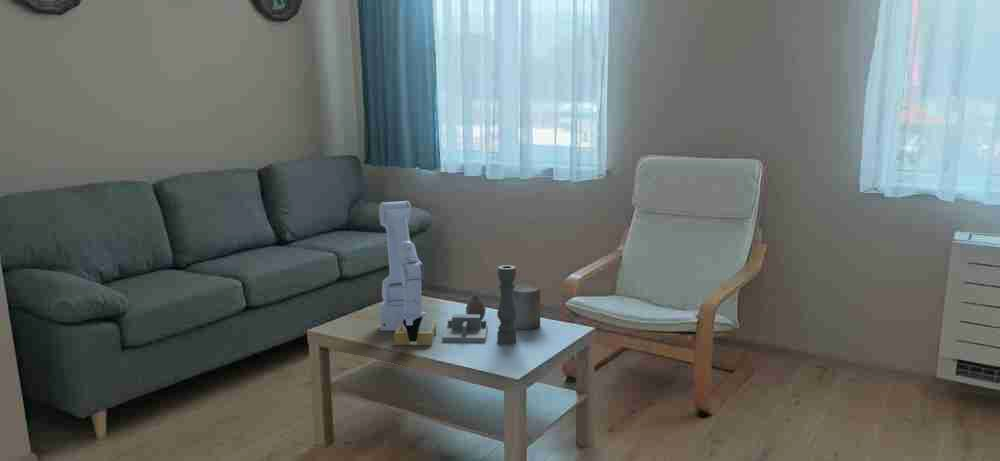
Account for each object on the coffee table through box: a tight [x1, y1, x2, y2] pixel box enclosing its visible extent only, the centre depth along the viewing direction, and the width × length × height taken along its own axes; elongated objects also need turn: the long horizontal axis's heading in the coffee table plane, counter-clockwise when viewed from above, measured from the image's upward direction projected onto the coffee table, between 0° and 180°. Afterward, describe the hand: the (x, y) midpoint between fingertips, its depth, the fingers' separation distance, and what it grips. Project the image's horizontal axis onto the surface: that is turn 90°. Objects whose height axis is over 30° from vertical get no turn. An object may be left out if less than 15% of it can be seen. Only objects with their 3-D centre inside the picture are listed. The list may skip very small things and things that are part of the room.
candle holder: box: [496, 264, 517, 346], centre depth 245 cm, size 6×6×25 cm
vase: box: [465, 295, 486, 322], centre depth 270 cm, size 7×7×9 cm
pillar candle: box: [513, 283, 541, 331], centre depth 262 cm, size 10×10×15 cm
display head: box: [442, 313, 489, 343], centre depth 253 cm, size 13×14×6 cm
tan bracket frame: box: [394, 321, 437, 346], centre depth 249 cm, size 11×12×4 cm
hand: (413, 340), depth 245 cm, fingers closed on tan bracket frame, 2 cm apart
